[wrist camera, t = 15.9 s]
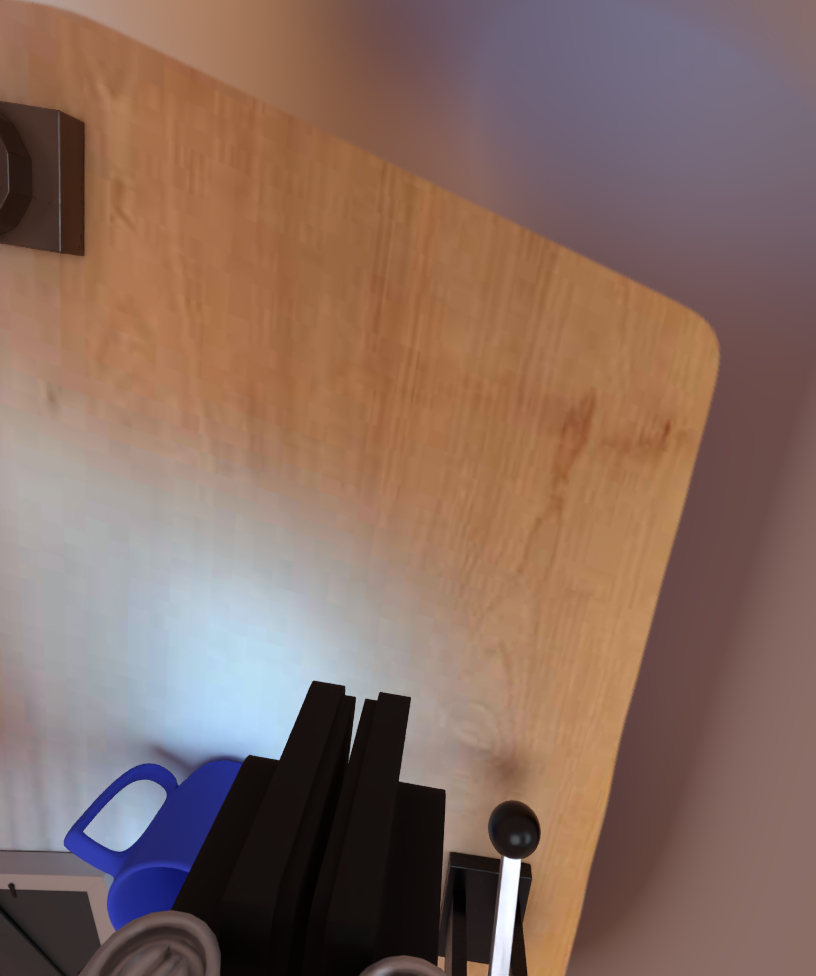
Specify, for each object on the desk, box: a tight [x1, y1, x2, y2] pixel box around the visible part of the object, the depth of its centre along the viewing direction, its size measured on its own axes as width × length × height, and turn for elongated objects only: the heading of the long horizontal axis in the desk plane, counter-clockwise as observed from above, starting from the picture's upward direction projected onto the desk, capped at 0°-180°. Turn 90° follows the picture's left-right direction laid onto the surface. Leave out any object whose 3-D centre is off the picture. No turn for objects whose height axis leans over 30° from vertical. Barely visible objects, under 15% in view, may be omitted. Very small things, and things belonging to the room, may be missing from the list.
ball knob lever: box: [488, 800, 541, 976], centre depth 37 cm, size 17×3×3 cm, turn 174°
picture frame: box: [0, 851, 116, 976], centre depth 51 cm, size 16×3×21 cm
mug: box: [64, 761, 242, 931], centre depth 41 cm, size 8×12×10 cm
